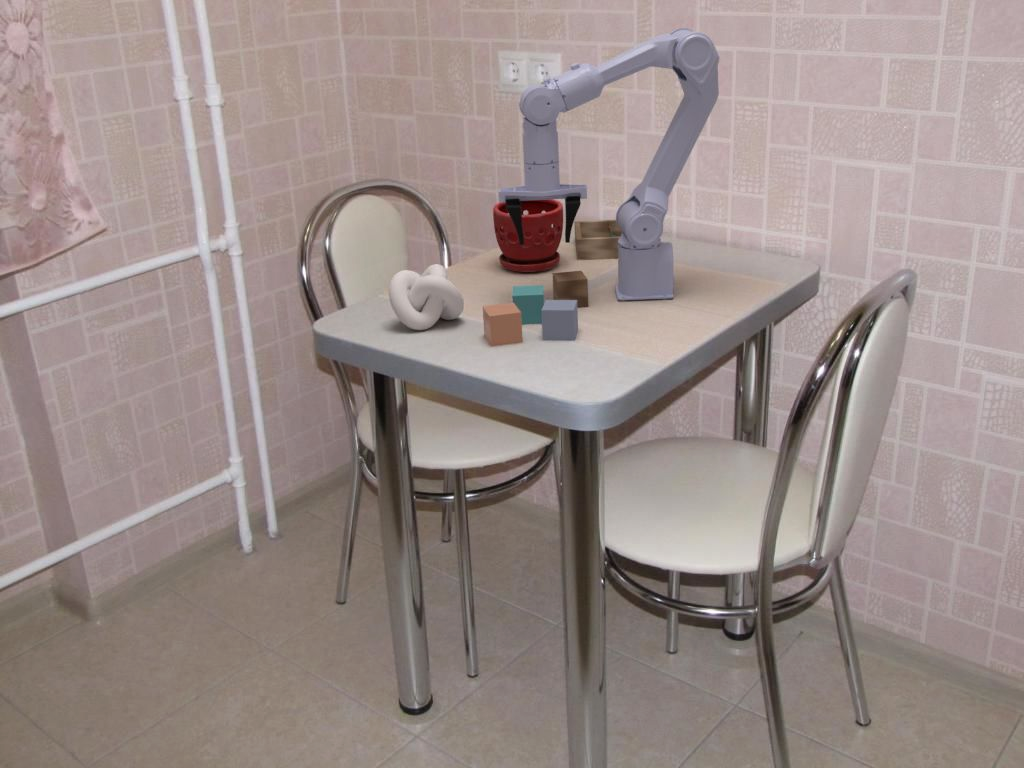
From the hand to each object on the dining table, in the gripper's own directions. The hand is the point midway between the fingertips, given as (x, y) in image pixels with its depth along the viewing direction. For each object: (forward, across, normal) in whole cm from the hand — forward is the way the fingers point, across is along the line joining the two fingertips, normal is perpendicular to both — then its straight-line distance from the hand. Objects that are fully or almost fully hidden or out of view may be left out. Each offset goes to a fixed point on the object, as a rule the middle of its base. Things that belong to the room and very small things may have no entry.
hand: (544, 242), depth 179 cm
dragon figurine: (+11, -12, -31) cm, 35 cm away
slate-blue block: (+10, -2, +17) cm, 20 cm away
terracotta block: (+10, +7, +18) cm, 22 cm away
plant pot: (+11, +3, -21) cm, 24 cm away
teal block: (+10, +3, +9) cm, 14 cm away
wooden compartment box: (+10, -13, -31) cm, 35 cm away
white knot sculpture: (+11, +19, +9) cm, 24 cm away
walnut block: (+10, -4, +2) cm, 11 cm away
